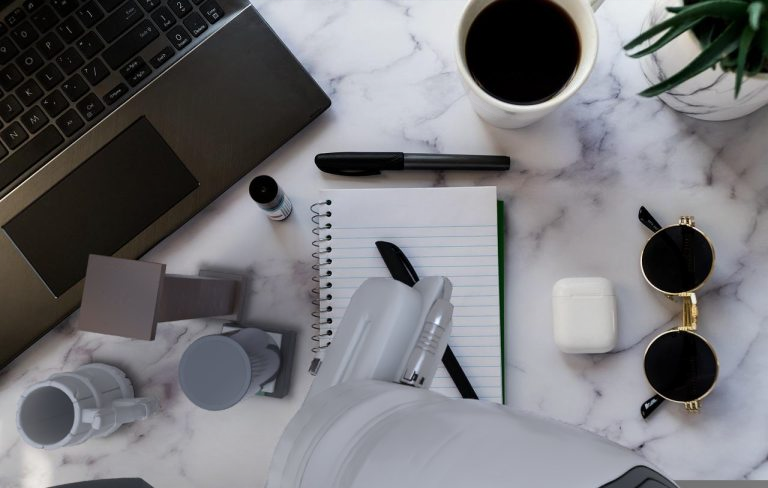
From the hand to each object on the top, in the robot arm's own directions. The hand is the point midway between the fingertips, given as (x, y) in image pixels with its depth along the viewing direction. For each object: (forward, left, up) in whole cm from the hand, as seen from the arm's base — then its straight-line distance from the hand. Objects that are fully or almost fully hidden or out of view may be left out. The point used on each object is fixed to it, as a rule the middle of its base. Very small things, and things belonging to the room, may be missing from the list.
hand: (290, 435), depth 40 cm
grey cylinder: (+1, +10, -23) cm, 25 cm away
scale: (+1, +10, -26) cm, 28 cm away
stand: (+7, +15, -26) cm, 31 cm away
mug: (-6, +24, -26) cm, 36 cm away
